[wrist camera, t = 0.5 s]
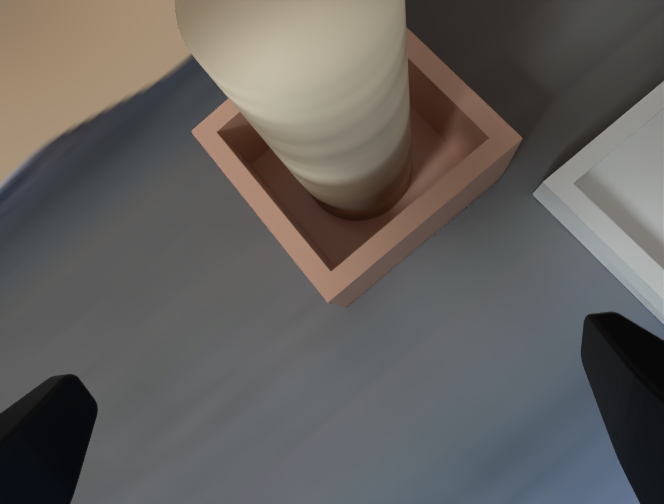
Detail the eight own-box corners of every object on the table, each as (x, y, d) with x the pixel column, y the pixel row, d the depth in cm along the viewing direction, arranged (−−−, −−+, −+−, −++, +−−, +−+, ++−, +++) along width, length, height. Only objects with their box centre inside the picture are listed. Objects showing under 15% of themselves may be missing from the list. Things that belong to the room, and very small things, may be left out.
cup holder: (501, 177, 21) (522, 138, 16) (347, 307, 21) (327, 302, 17) (371, 48, 23) (359, -18, 18) (234, 167, 23) (190, 131, 19)
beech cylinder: (435, 171, 21) (455, -29, 9) (350, 243, 21) (263, 138, 9) (364, 97, 22) (301, -164, 10) (285, 165, 22) (134, -13, 10)
